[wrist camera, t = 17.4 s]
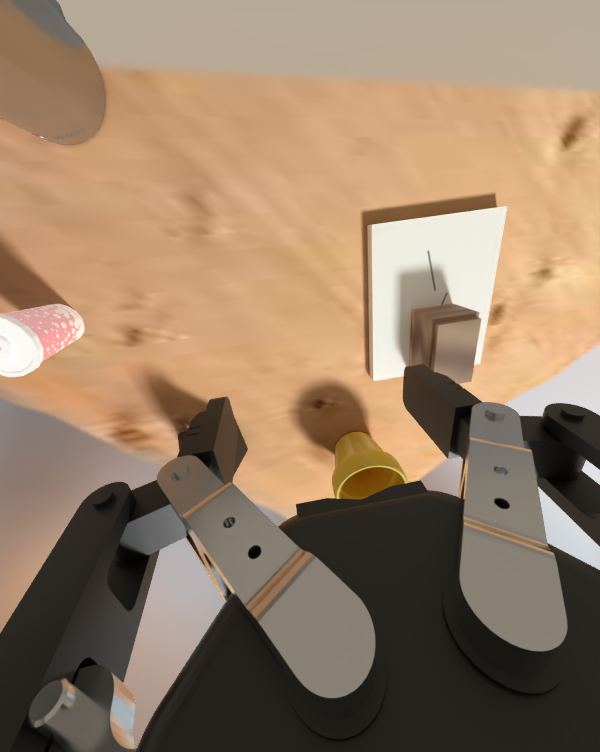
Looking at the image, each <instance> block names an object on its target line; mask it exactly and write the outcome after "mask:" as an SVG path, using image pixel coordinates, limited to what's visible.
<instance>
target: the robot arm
mask: <svg viewBox="0 0 600 752" xmlns="http://www.w3.org/2000/svg"><path fill="white" fill-rule="evenodd" d="M104 111H105V91H104V84H103V80H102V77H101V74H100V71H99V68H98V65H97V63H96V61H95V59H94V57H93V55H92V53H91V52H90V50H89V49H88V47H87V46H86V44H85V43H84V41H83V40H82V38H81V37H80V36H79V35H78V34H77V33H76V32H75V31H74V30H73V28H72V27H71V26H70V25H69V24H68V23H67V22H66V20H65V17H64V16H63V13H62V10H61V7H60V5H59V3H58V2H57V1H56V0H0V119H3V120H5V121H7V122H9V123H11V124H13V125H15V126H18V127H20V128H22V129H24V130H26V131H29V132H31V133H32V134H34V135H36V136H39V137H41V138H44V139H46V140H48V141H51V142H54V143H58V144H62V145H75V144H78V143H82V142H84V141H86V140H88V139H89V138H91V137H92V136H93V135H94V134H95V133H96V131H97V130H98V129H99V127H100V125H101V122H102V120H103V116H104ZM403 402H404V405H405V407H406V409H407V410H408V412H409V413H410V414H411V415H412V416H413V418H414V419H415V420H416V421H417V422H418V424H419V425H420V426H421V427H422V428H423V430H424V431H425V432H426V433H427V434H428V436H429V437H430V438H431V439H432V440H433V441H434V443H435V444H436V445H437V446H438V447H439V449H440V450H441V451H442V452H443V453H444V455H445V456H446V457H447V458H448V459H450V458H456V457H462V459H463V462H462V468H461V478H460V486H459V495H458V497H456V496H453V495H450V494H447V493H443V492H438V491H429V490H427V489H426V488H425V486H424V485H423V483H422V482H421V481H416V482H410V483H405V484H400V485H395V486H390V487H388V488H386V489H384V490H381V491H379V492H377V493H375V494H373V495H370V496H368V497H366V498H364V499H332V498H326V499H321V500H316V501H311V502H305V503H300V504H296V508H297V515H296V516H293V517H291V518H290V519H288V520H286V521H285V522H283V523H282V524H281V525H280V526H278V527H277V526H276V525H275V524H274V523H273V522H272V521H271V520H270V519H269V518H268V517H267V516H266V515H265V514H264V513H263V512H262V511H261V510H260V509H259V508H258V507H257V506H256V505H255V504H254V503H252V502H251V501H250V500H249V499H248V498H247V497H246V496H245V495H244V494H243V493H242V492H241V491H240V490H239V489H238V488H237V487H236V486H235V485H234V484H233V483H232V480H233V473H234V465H235V457H236V449H237V441H238V431H237V426H236V422H235V419H234V415H233V412H232V408H231V405H230V401H229V399H228V397H221V398H216V399H210V400H209V403H208V406H207V409H206V411H205V412H199V413H198V414H197V415H196V416H195V417H194V418H193V419H192V421H191V423H190V426H189V430H188V431H187V433H186V437H185V439H184V441H183V444H182V446H181V449H180V451H179V454H178V456H177V458H176V459H174V460H172V461H170V462H168V463H167V464H166V465H165V466H164V467H163V468H162V469H161V470H160V471H159V473H158V475H157V480H155V481H153V482H151V483H148V484H146V485H144V486H141V487H139V488H136V489H134V490H131V489H130V488H129V486H128V484H126V483H124V482H115V483H111V484H108V485H105V486H103V487H101V488H99V489H97V490H96V491H94V492H93V493H92V494H90V495H89V496H88V497H87V498H86V499H85V500H84V501H83V502H82V503H81V505H80V506H79V508H78V510H77V511H76V513H75V514H74V516H73V518H72V519H71V521H70V522H69V524H68V526H67V527H66V529H65V530H64V532H63V534H62V535H61V537H60V538H59V540H58V542H57V543H56V545H55V547H54V548H53V550H52V551H51V553H50V555H49V556H48V558H47V559H46V562H45V563H44V564H43V566H42V568H41V569H40V571H39V572H38V574H37V575H36V577H35V579H34V580H33V582H32V583H31V585H30V587H29V588H28V590H27V591H26V593H25V595H24V596H23V598H22V600H21V601H20V603H19V604H18V606H17V608H16V609H15V611H14V612H13V614H12V616H11V617H10V619H9V620H8V622H7V624H6V625H5V627H4V628H3V630H2V632H1V633H0V752H600V570H598V569H596V568H594V567H592V566H590V565H589V564H587V563H585V562H583V561H581V560H579V559H577V558H575V557H573V556H571V555H569V554H567V553H566V552H564V551H562V550H560V549H558V548H556V547H554V546H552V545H550V544H548V543H547V539H546V533H545V527H544V521H543V515H542V509H541V503H540V497H539V492H538V487H540V488H541V490H543V491H544V492H545V493H546V494H547V495H548V496H549V497H550V498H551V499H552V500H553V501H554V502H555V503H556V504H557V505H558V506H559V507H560V508H561V509H562V510H563V511H564V512H565V513H566V514H567V515H568V516H569V517H570V518H571V519H572V520H573V521H574V522H575V523H576V524H577V525H578V526H579V527H580V528H581V529H582V530H583V531H584V532H585V533H587V535H588V536H590V537H591V538H592V539H593V540H594V541H595V542H596V543H597V544H598V545H599V546H600V485H599V484H598V483H596V482H595V481H594V480H593V479H591V478H590V477H589V476H588V475H586V474H585V473H584V472H583V471H581V470H582V468H583V466H584V463H585V461H586V460H588V461H589V462H590V463H592V464H593V465H594V466H596V467H597V468H598V469H600V416H599V415H598V414H596V413H594V412H592V411H590V410H588V409H586V408H583V407H580V406H576V405H571V404H564V403H556V404H550V405H548V406H546V408H545V410H544V413H543V416H542V417H541V416H519V414H518V413H517V412H516V411H515V410H514V409H512V408H510V407H508V406H506V405H503V404H499V403H492V402H482V401H480V400H479V399H478V398H476V397H475V396H474V395H472V394H471V393H470V392H468V391H467V390H466V389H464V388H462V387H461V386H460V385H459V384H456V382H455V381H453V380H452V379H451V378H449V377H448V376H446V375H443V374H440V373H438V372H434V371H432V370H431V369H430V368H429V367H427V366H426V365H425V364H418V365H412V366H407V367H405V369H404V381H403ZM182 538H186V540H187V542H188V543H189V545H190V546H191V548H192V549H193V551H194V553H195V554H196V556H197V557H198V558H199V560H200V562H201V564H202V565H203V567H204V568H205V570H206V571H207V573H208V575H209V576H210V578H211V579H212V581H213V583H214V585H215V587H216V588H217V590H218V592H219V594H220V595H221V597H222V599H223V600H224V602H225V604H224V606H223V607H222V609H221V610H220V612H219V613H218V615H217V616H216V618H215V619H214V621H213V623H212V624H211V626H210V627H209V629H208V630H207V632H206V633H205V635H204V636H203V638H202V640H201V641H200V643H199V644H198V646H197V647H196V649H195V650H194V652H193V653H192V655H191V656H190V658H189V660H188V661H187V663H186V664H185V666H184V667H183V669H182V671H181V672H180V673H179V675H178V677H177V678H176V680H175V681H174V683H173V684H172V686H171V687H170V689H169V691H168V692H167V694H166V695H165V697H164V698H163V700H162V701H161V703H160V704H159V706H158V708H157V709H156V711H155V713H154V715H153V716H152V718H151V720H150V722H149V724H148V726H147V728H146V729H145V732H144V734H143V736H142V738H141V740H140V743H139V745H138V748H136V749H135V746H134V740H133V726H134V719H135V699H134V696H133V693H132V692H131V690H130V689H129V688H128V687H127V686H126V685H125V684H124V683H123V682H124V678H125V675H126V671H127V667H128V664H129V660H130V656H131V653H132V649H133V646H134V642H135V638H136V634H137V631H138V627H139V623H140V620H141V616H142V613H143V609H144V605H145V602H146V598H147V594H148V591H149V587H150V584H151V580H152V576H153V573H154V569H155V565H156V562H157V558H158V555H159V551H160V549H162V548H164V547H166V546H168V545H170V544H172V543H174V542H176V541H178V540H181V539H182Z"/></svg>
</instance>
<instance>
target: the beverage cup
mask: <svg viewBox="0 0 600 752" xmlns="http://www.w3.org/2000/svg"><path fill="white" fill-rule="evenodd" d="M83 332H84V323H83V320H82V318H81V317H80V315H79V314H78V313H77V312H76V311H75V310H73V309H72V308H70V307H68V306H66V305H62V304H51V305H46V306H41V307H35V308H30V309H25V310H20V311H15V312H9V313H4V314H0V375H3V376H7V377H17V376H24V375H26V374H28V373H29V372H31V371H33V370H35V369H36V368H38V367H39V365H40V364H41V362H42V361H44V360H45V359H47V358H48V357H50V356H52V355H53V354H55V353H56V352H58V351H59V350H61V349H63V348H64V347H66V346H67V345H69V344H70V343H72V342H74V341H75V340H77V339H78V338H80V337H81V336H82V334H83Z"/></svg>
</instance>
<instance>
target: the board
mask: <svg viewBox="0 0 600 752" xmlns="http://www.w3.org/2000/svg"><path fill="white" fill-rule="evenodd" d="M506 212H507V206H503V207H496V208H489V209H482V210H474V211H467V212H460V213H453V214H445V215H438V216H431V217H424V218H416V219H409V220H402V221H395V222H387V223H380V224H373V225H367V240H368V302H369V365H370V377H371V379H372V380H373V381H377V380H383V379H389V378H396V377H402V376H404V369H405V367H407V366H409V350H410V330H411V310H412V309H419V308H425V307H432V306H438V305H445V304H451V303H453V304H456V305H459V306H462V307H465V308H468V309H471V310H474V311H477V312H479V318H481V325H480V331H479V337H478V343H477V349H476V355H475V362H474V365H476V364H480V361H481V356H482V350H483V344H484V338H485V333H486V327H487V321H488V315H489V310H490V304H491V298H492V292H493V287H494V281H495V275H496V269H497V264H498V258H499V252H500V246H501V241H502V235H503V229H504V223H505V218H506Z"/></svg>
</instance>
